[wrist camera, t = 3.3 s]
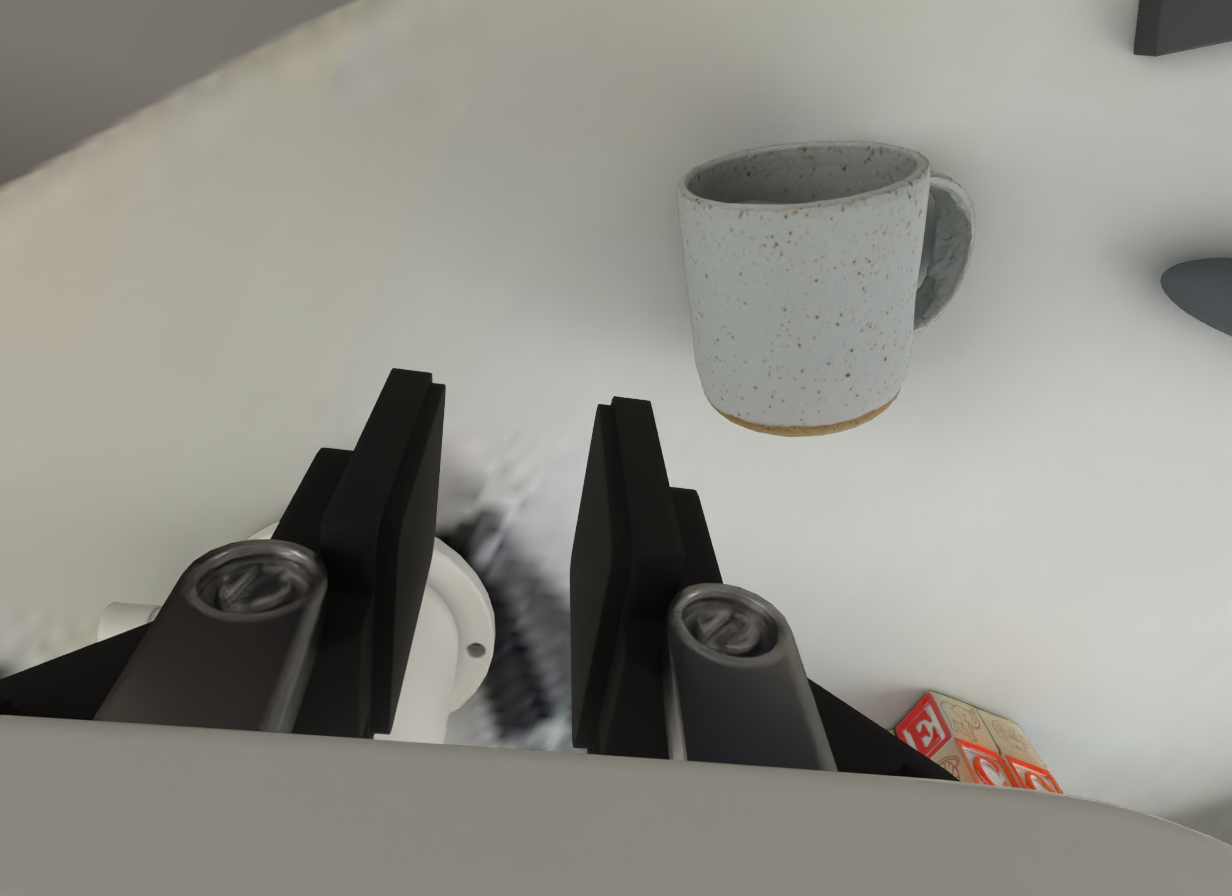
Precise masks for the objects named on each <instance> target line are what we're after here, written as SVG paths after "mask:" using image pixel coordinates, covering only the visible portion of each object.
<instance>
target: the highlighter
mask: <svg viewBox="0 0 1232 896" xmlns="http://www.w3.org/2000/svg"><path fill="white" fill-rule="evenodd" d="M1229 41H1232V0H1140V1H1139V10H1138V18H1137V27H1136V36H1135V45H1134V54H1135V55H1146V56H1160V55H1165V54H1170V53H1175V52H1180V51H1185V50H1189V49H1194V48H1199V47H1204V46H1209V45H1214V44H1219V43H1224V42H1229Z"/></svg>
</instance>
